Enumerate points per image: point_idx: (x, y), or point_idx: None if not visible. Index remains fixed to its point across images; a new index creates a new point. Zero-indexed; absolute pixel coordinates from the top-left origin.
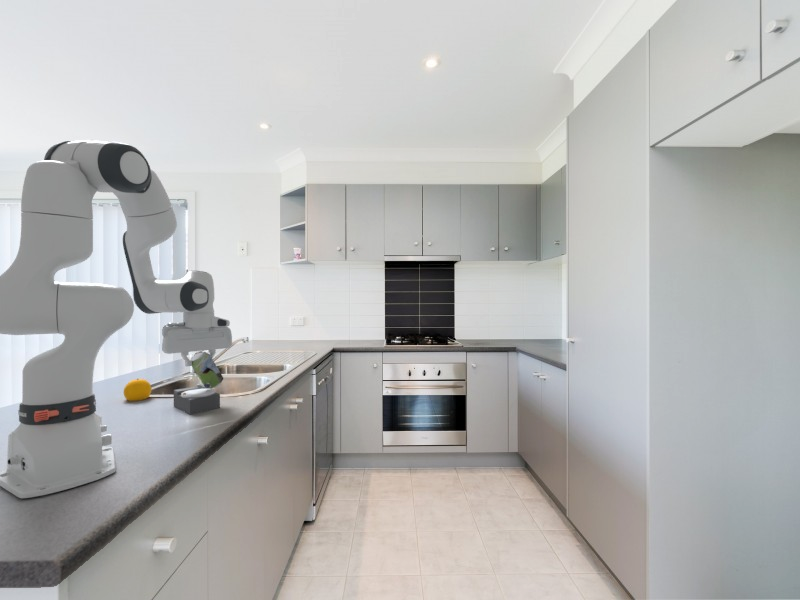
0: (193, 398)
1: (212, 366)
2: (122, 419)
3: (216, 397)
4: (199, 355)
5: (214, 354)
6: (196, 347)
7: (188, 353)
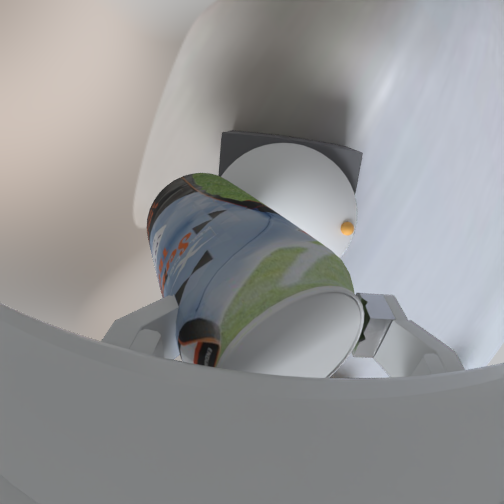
0: (342, 159)
1: (209, 214)
2: (443, 276)
3: (241, 133)
4: (284, 365)
5: (133, 312)
6: (398, 413)
7: (428, 370)
